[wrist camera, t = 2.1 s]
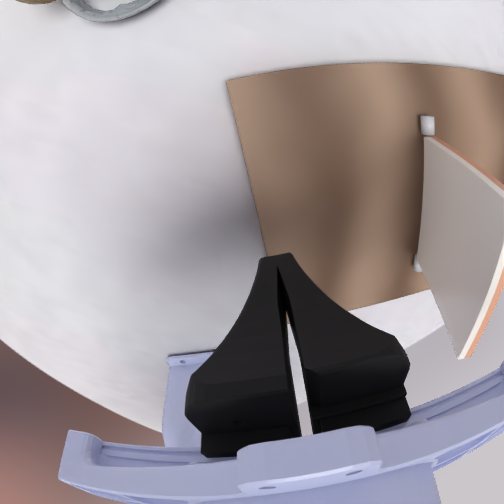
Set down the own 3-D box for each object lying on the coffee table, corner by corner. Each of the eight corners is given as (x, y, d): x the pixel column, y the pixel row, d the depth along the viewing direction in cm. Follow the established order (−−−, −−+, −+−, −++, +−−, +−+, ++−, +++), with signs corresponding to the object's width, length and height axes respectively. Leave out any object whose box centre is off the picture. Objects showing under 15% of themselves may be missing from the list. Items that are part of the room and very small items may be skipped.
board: (280, 313, 22) (282, 324, 21) (226, 80, 13) (226, 80, 12) (491, 258, 20) (498, 266, 19) (510, 77, 11) (521, 80, 10)
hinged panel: (450, 371, 11) (463, 368, 11) (517, 173, 6) (532, 173, 5) (411, 265, 18) (421, 264, 18) (418, 114, 13) (430, 114, 12)
